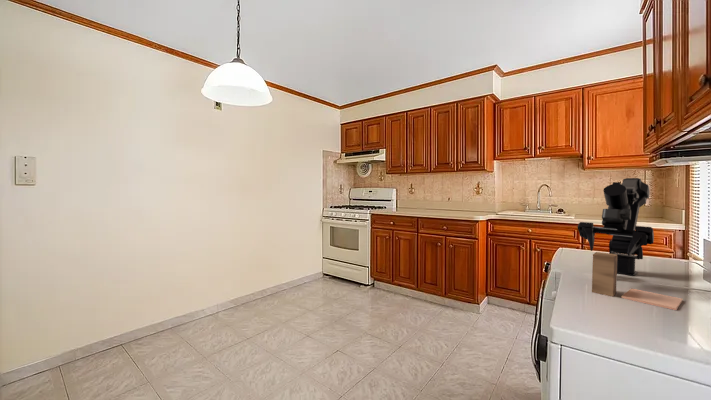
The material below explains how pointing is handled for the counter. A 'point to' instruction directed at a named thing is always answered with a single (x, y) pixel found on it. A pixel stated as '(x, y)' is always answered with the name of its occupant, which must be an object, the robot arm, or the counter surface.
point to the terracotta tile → (653, 298)
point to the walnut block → (604, 273)
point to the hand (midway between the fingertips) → (609, 252)
